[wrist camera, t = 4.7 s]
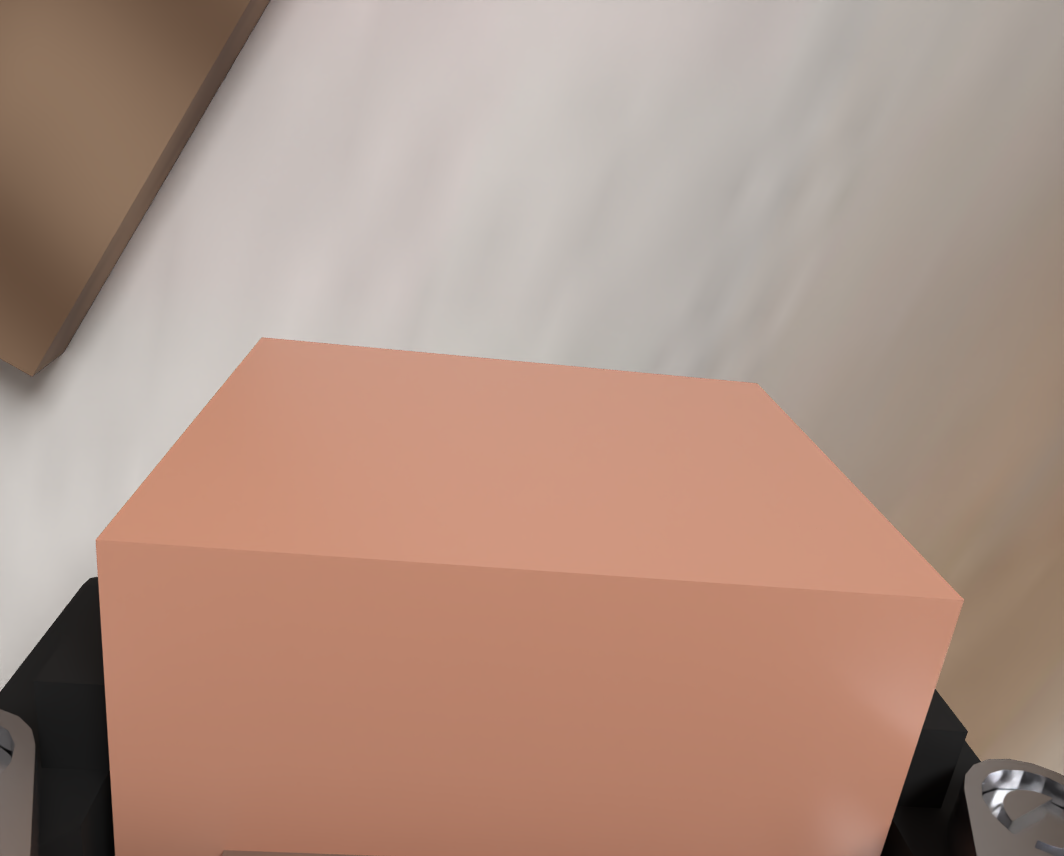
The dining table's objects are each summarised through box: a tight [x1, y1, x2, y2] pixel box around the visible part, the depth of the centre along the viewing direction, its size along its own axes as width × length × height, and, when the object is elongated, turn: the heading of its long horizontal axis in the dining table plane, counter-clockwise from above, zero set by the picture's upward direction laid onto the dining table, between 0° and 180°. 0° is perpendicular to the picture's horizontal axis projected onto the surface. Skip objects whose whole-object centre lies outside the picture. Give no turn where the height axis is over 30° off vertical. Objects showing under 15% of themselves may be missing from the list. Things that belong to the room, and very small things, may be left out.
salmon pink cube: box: [96, 338, 964, 856], centre depth 9 cm, size 6×6×6 cm
